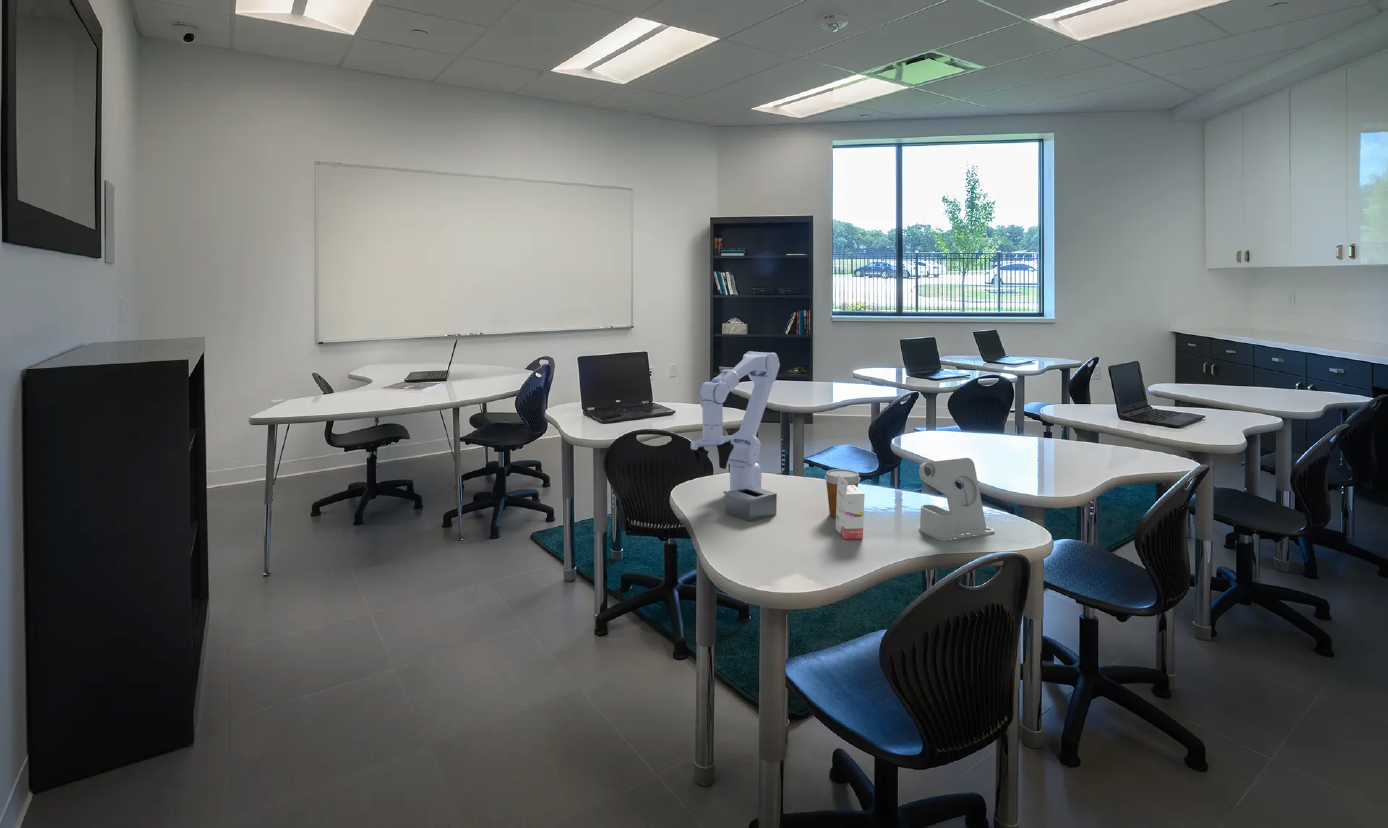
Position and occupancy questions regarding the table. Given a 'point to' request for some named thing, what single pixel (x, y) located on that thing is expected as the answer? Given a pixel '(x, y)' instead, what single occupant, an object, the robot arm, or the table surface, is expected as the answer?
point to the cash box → (750, 503)
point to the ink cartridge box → (849, 510)
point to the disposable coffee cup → (832, 482)
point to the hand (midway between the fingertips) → (712, 470)
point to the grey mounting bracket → (953, 501)
